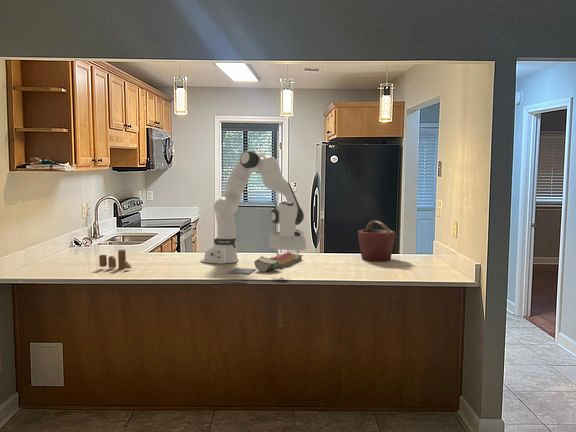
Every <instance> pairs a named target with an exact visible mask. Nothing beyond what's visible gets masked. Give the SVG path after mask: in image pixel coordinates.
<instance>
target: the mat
mask: <svg viewBox="0 0 576 432" xmlns="http://www.w3.org/2000/svg"><path fill="white" fill-rule="evenodd" d="M256 270H257V268H242V267H241V268H237V267H235V268H233V269H230V270H229V271H227V274H229V275H231V274H232V275H247V276H248V275H251V274H252V273H254V272H255V271H256Z"/></svg>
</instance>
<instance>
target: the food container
mask: <svg viewBox="0 0 576 432" xmlns="http://www.w3.org/2000/svg"><path fill="white" fill-rule="evenodd" d="M270 258H271V257H270ZM270 258H268V257H264V255H261V256H259V258H257V259H256V260H254V262H253V263H254V268H255V269H256V270H258V271H259V272H260V273H266V272H267V271H273V270H275V269H278V268H277V267H278V265H279V263H280V261H276V260H273V259H270Z"/></svg>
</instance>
